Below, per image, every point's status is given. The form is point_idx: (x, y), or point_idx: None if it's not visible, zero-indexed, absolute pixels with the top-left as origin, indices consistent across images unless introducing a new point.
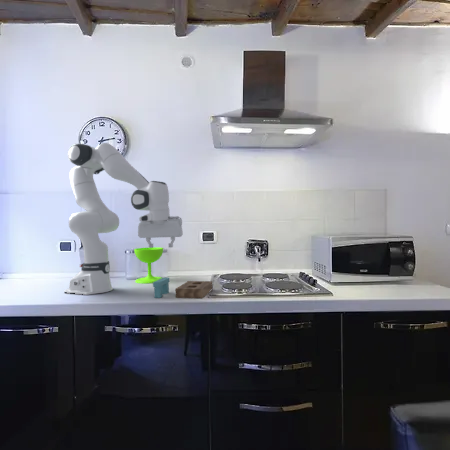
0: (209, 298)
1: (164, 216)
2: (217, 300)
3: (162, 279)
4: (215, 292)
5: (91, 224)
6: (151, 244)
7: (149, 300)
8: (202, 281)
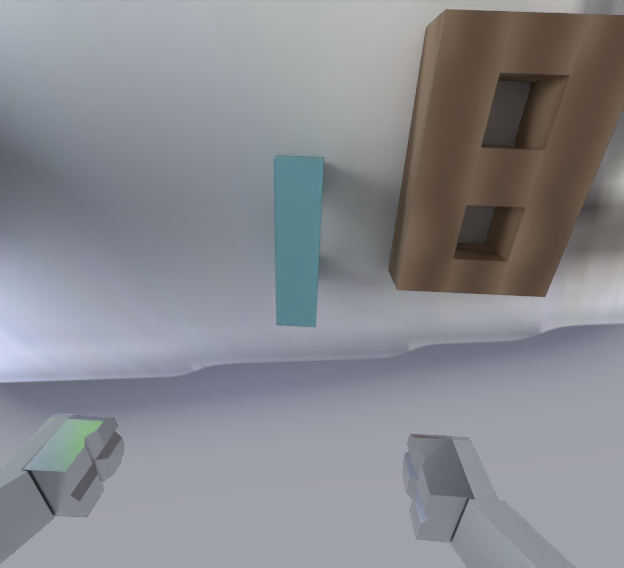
0: None
1: None
2: (586, 305)
3: (298, 238)
4: None
5: None
6: (89, 506)
7: None
8: (572, 30)
